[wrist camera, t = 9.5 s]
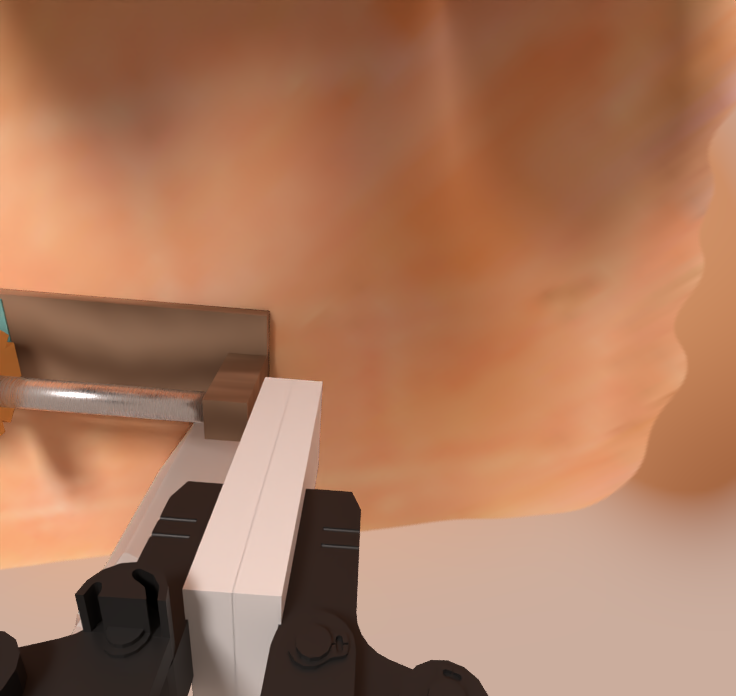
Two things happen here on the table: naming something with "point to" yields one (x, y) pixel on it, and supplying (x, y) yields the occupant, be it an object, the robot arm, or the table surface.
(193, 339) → the rack
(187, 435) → the milk carton
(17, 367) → the ring
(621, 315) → the table surface
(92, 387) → the pipe
